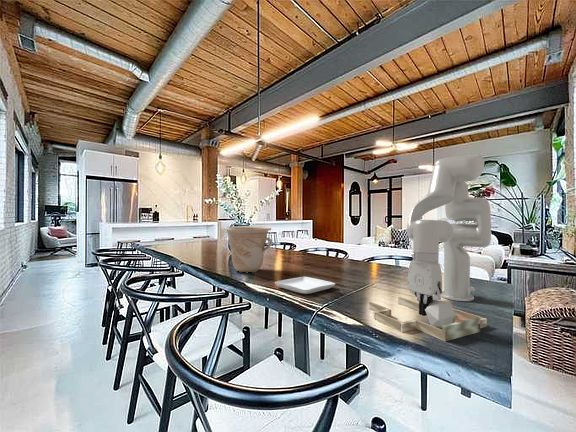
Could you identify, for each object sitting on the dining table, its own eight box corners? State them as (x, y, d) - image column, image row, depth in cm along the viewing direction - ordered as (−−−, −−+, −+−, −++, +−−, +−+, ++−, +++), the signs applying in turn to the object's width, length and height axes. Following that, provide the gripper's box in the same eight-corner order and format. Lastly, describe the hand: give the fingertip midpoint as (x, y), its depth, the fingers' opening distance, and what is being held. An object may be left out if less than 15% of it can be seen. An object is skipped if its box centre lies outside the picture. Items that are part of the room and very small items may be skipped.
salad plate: (304, 281, 150) (304, 275, 150) (336, 289, 135) (336, 282, 135) (273, 288, 136) (273, 281, 136) (305, 298, 120) (305, 290, 120)
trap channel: (410, 301, 116) (410, 291, 116) (491, 328, 88) (492, 315, 88) (355, 311, 103) (356, 299, 103) (430, 345, 76) (430, 330, 76)
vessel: (285, 268, 177) (280, 220, 174) (245, 281, 158) (239, 228, 156) (258, 262, 199) (253, 220, 196) (221, 273, 180) (215, 227, 178)
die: (447, 339, 87) (467, 315, 87) (435, 329, 83) (456, 304, 83) (426, 322, 95) (445, 300, 95) (414, 312, 90) (433, 289, 90)
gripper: (399, 255, 98) (397, 309, 97) (438, 261, 84) (436, 323, 84) (414, 255, 101) (413, 307, 100) (455, 260, 87) (453, 321, 87)
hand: (424, 314), depth 92 cm, fingers closed
